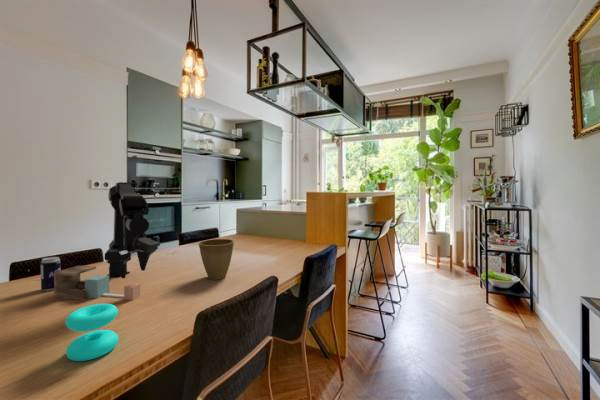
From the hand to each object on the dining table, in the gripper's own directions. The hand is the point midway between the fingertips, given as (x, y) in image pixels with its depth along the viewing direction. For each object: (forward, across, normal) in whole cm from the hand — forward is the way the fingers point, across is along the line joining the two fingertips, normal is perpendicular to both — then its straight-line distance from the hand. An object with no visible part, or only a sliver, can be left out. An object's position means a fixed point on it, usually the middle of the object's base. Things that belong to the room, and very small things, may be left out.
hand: (133, 274), depth 97 cm
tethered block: (+9, 0, +8) cm, 12 cm away
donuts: (+9, -30, -14) cm, 34 cm away
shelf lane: (+9, 0, +22) cm, 24 cm away
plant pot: (+9, +27, -18) cm, 34 cm away
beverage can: (+9, +2, +38) cm, 39 cm away
